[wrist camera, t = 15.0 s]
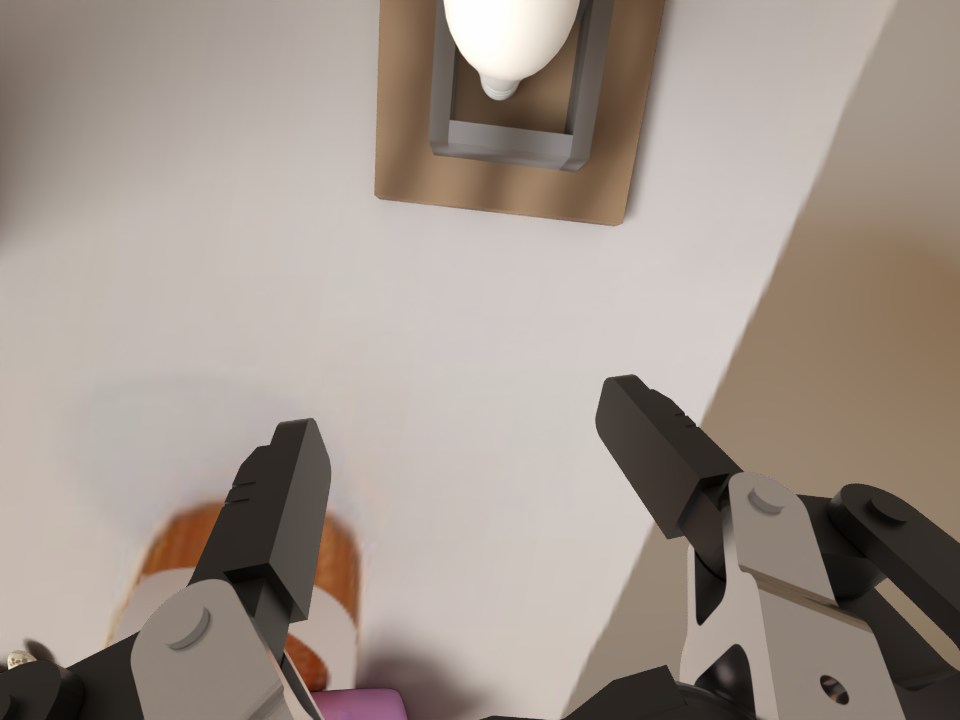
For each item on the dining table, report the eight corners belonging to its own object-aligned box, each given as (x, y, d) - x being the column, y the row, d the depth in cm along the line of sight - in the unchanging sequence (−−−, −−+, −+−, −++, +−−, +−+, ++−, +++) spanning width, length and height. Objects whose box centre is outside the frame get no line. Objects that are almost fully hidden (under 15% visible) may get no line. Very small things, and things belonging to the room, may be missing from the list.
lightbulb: (459, 21, 23) (447, -200, 12) (553, 39, 23) (621, -161, 12) (447, 127, 24) (427, 15, 13) (535, 143, 24) (583, 44, 14)
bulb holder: (379, 199, 27) (361, 185, 22) (388, -69, 23) (368, -150, 18) (614, 226, 27) (641, 217, 23) (662, -30, 23) (705, -98, 19)
